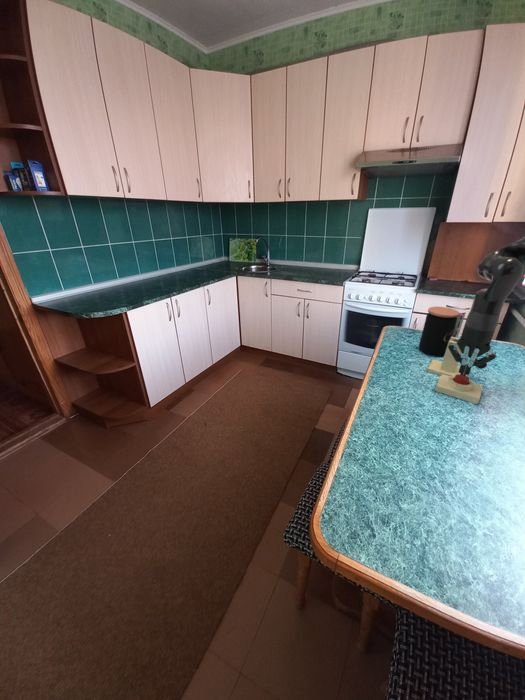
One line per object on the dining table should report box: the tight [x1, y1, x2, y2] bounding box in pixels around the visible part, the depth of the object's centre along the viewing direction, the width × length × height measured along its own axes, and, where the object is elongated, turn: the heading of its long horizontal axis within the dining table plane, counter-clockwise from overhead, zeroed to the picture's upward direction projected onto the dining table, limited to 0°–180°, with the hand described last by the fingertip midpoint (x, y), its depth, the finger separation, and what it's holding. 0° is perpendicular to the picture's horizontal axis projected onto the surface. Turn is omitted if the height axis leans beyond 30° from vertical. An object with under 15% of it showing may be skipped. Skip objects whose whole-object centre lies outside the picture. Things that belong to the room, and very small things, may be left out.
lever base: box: [426, 337, 468, 377], centre depth 105 cm, size 12×9×13 cm
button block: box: [434, 374, 484, 405], centre depth 96 cm, size 12×9×4 cm
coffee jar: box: [418, 306, 459, 357], centre depth 118 cm, size 11×11×18 cm
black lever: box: [454, 339, 488, 370], centre depth 101 cm, size 13×3×3 cm, turn 52°
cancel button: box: [454, 374, 471, 385], centre depth 95 cm, size 4×4×2 cm
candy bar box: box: [436, 305, 466, 338], centre depth 123 cm, size 11×5×16 cm, turn 45°
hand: (463, 374), depth 94 cm, fingers closed
